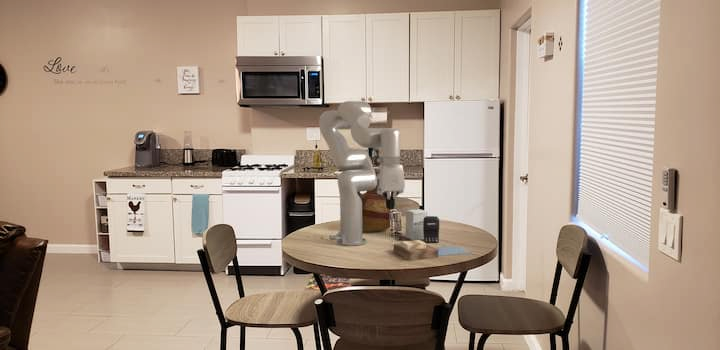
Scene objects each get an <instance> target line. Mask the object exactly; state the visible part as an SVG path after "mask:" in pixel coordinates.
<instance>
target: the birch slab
mask: <svg viewBox="0 0 720 350" xmlns="http://www.w3.org/2000/svg"><path fill="white" fill-rule="evenodd" d="M400 244H401V247H403V248H405V249H407V250H412V249H422V248H426V245H427V243H425V242H424V241H422V240H421V239H420V240H404V241H403V240H402V241H400Z"/></svg>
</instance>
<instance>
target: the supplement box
mask: <svg viewBox="0 0 720 350" xmlns="http://www.w3.org/2000/svg"><path fill="white" fill-rule="evenodd" d="M425 216H428V211H427V210H424V209H420V208H419V209H418V208H417V209H406V210H405V238H406V239H409V240H410V241H413V240H420V241H421V240H423V219H424V217H425Z"/></svg>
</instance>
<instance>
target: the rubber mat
mask: <svg viewBox="0 0 720 350" xmlns="http://www.w3.org/2000/svg"><path fill="white" fill-rule="evenodd" d="M434 248H435V249H438V257H444V256H451V255H452V256H453V255H461V254H463V255H464V254H470V253H472V251H470V250H468V249H465V248H462V247H461V246H457V245H448V246H438V247H434Z"/></svg>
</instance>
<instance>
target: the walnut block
mask: <svg viewBox="0 0 720 350" xmlns="http://www.w3.org/2000/svg"><path fill="white" fill-rule="evenodd" d="M435 248H436V247H433V246H430V245H429V244H426V248H422V249H412V250H407V249H405V248H403V247H401V243H396V244H395V243H394V244H393V253H395V254H397V255H399V256H401V257H402V258H405V259H407V261H408V260H409V261H411V262H412V261H419V260H420V261H421V260H427V259H436V258H439V256H438V249H435Z"/></svg>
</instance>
